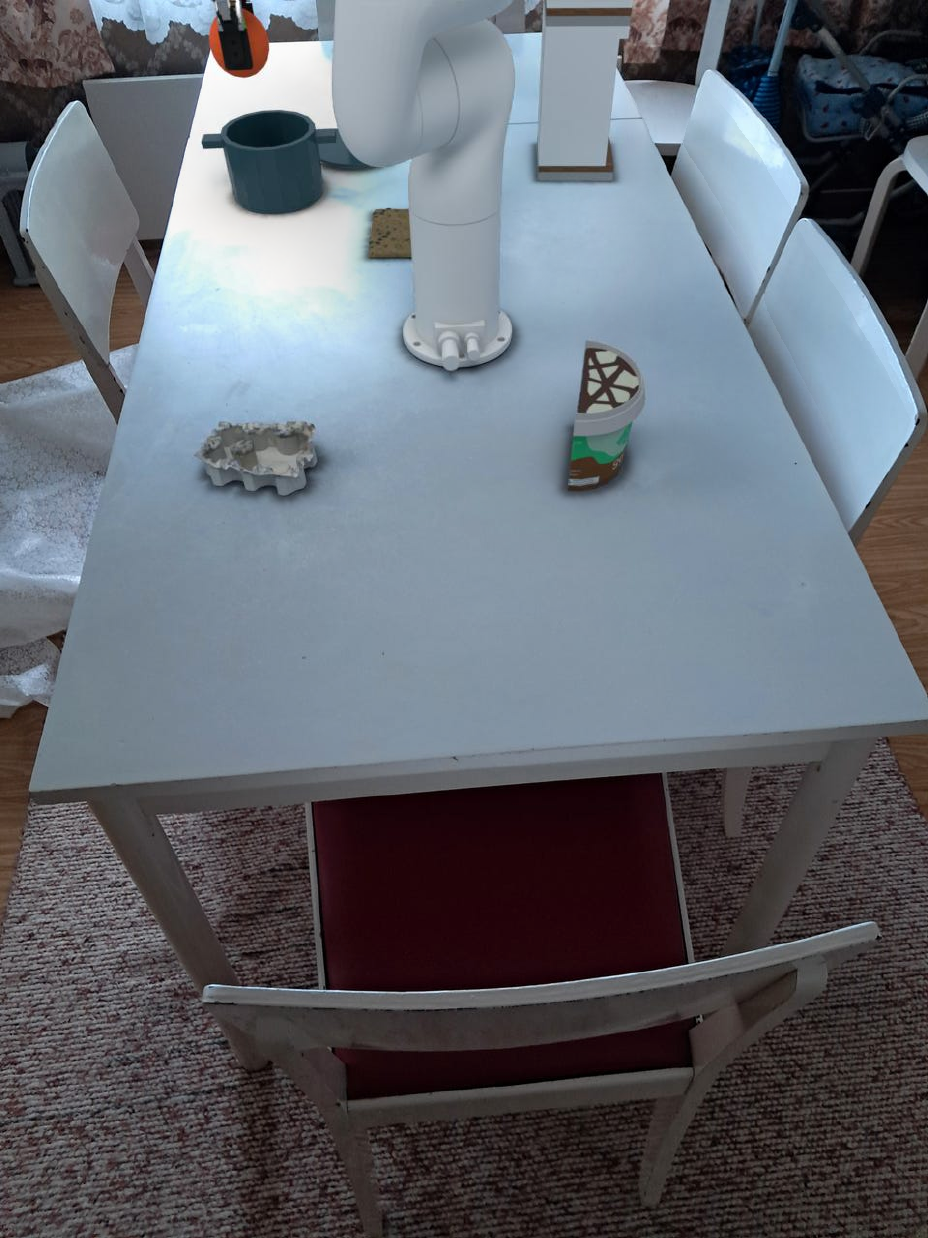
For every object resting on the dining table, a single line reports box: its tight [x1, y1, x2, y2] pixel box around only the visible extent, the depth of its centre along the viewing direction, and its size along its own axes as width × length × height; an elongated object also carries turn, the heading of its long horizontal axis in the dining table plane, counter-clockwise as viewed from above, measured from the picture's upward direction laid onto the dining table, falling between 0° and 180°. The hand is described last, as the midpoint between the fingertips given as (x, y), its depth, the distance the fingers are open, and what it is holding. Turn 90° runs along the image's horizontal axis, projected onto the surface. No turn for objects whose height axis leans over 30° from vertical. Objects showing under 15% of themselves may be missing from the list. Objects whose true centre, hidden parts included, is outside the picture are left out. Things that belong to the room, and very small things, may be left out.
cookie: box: [367, 207, 412, 258], centre depth 115 cm, size 12×12×1 cm
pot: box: [201, 109, 337, 215], centre depth 120 cm, size 13×18×8 cm
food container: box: [567, 339, 646, 492], centre depth 83 cm, size 12×6×10 cm, turn 171°
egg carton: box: [193, 420, 318, 497], centre depth 85 cm, size 11×8×4 cm
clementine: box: [208, 7, 270, 79], centre depth 102 cm, size 8×7×7 cm
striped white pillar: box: [536, 0, 634, 182], centre depth 115 cm, size 11×11×35 cm
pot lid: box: [318, 127, 371, 169], centre depth 129 cm, size 14×14×7 cm
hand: (242, 54), depth 103 cm, fingers closed on clementine, 7 cm apart
